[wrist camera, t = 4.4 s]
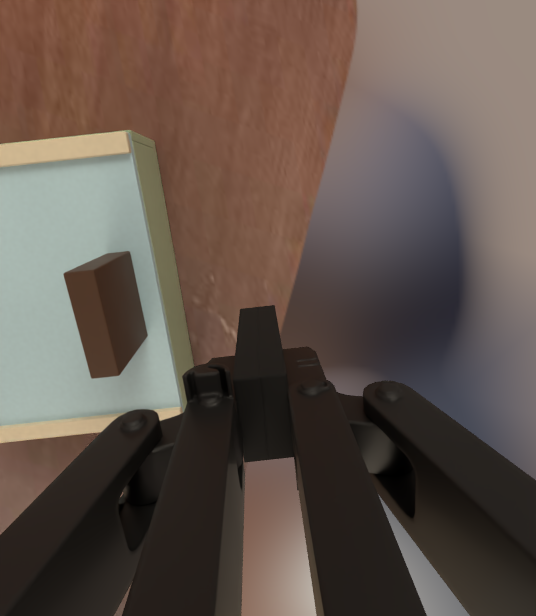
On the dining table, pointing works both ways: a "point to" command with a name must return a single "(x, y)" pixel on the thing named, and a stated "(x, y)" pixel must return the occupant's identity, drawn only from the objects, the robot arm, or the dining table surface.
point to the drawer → (78, 291)
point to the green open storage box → (161, 252)
